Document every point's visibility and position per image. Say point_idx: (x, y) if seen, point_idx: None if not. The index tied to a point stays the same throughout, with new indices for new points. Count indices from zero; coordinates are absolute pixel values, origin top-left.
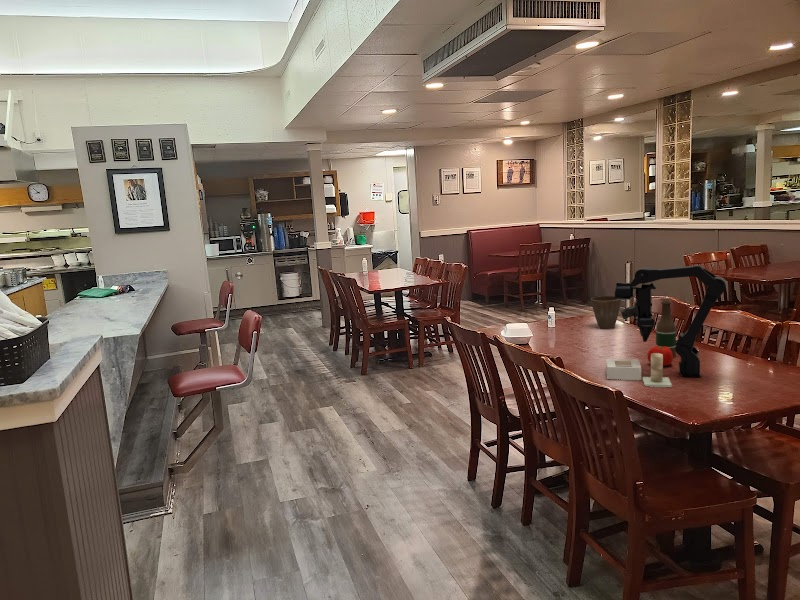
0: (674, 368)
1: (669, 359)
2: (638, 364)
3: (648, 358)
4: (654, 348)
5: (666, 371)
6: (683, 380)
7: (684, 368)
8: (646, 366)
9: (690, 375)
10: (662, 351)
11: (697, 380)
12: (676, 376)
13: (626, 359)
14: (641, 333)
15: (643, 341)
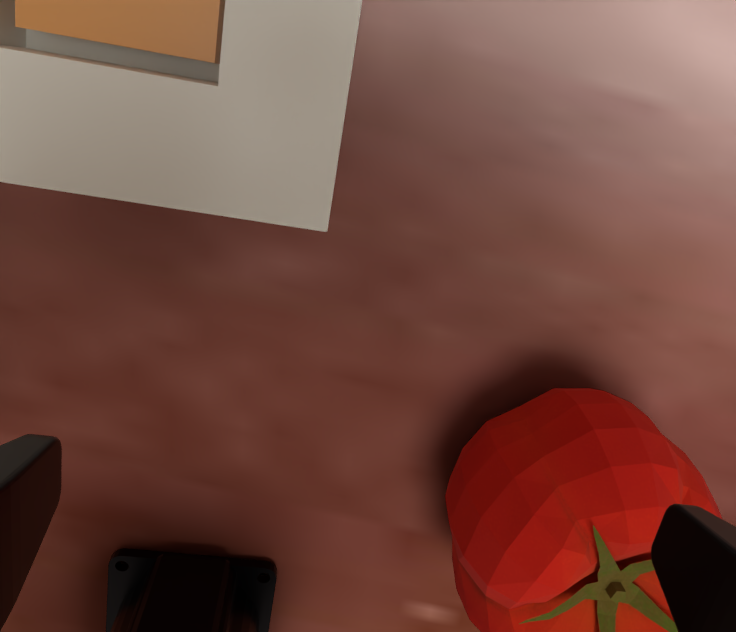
0: (403, 549)
1: (456, 579)
2: (10, 158)
3: (570, 396)
4: (613, 540)
5: (308, 466)
6: None
7: (126, 628)
8: (511, 331)
9: (115, 614)
10: (497, 593)
11: (18, 626)
12: (135, 507)
13: (322, 39)
14: (708, 561)
15: (26, 436)
